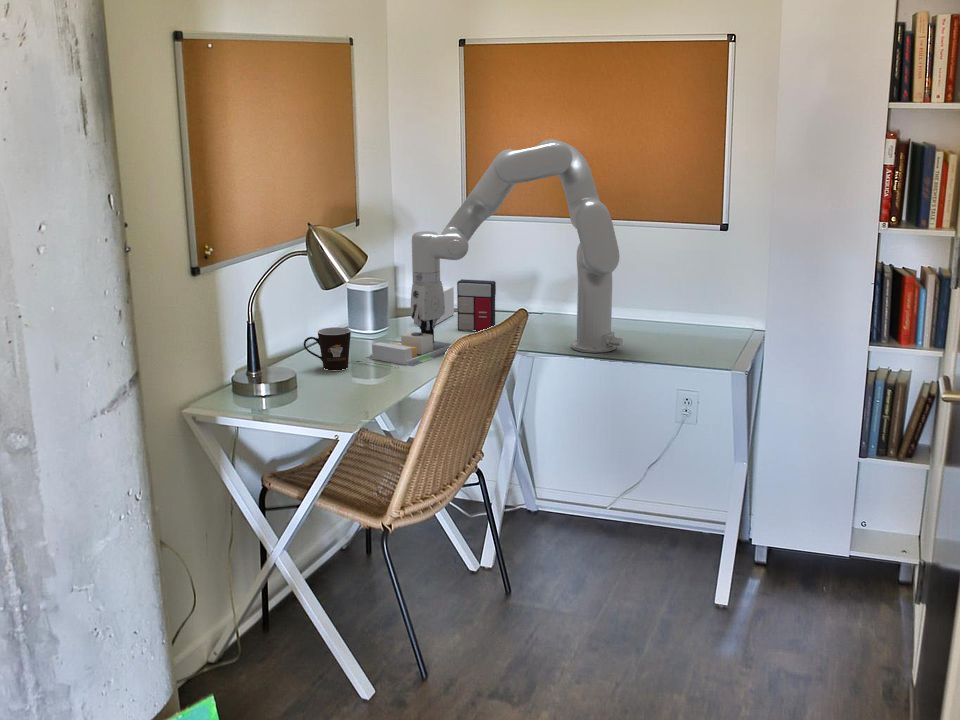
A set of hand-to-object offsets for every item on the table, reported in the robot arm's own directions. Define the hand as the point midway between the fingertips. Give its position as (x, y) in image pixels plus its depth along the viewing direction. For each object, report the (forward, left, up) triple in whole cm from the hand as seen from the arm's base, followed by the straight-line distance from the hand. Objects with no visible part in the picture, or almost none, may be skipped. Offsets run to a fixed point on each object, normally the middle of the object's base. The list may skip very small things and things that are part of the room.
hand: (427, 342), depth 296 cm
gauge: (0, +5, -1) cm, 5 cm away
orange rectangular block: (0, +11, -2) cm, 11 cm away
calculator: (+4, -29, -3) cm, 30 cm away
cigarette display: (+22, -33, -3) cm, 40 cm away
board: (0, +5, -3) cm, 5 cm away
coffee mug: (+12, +27, -3) cm, 29 cm away
